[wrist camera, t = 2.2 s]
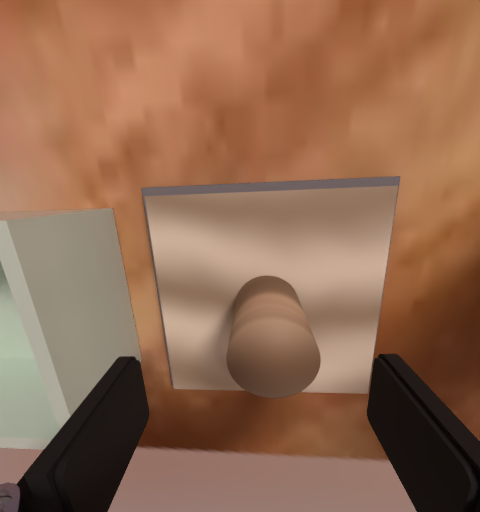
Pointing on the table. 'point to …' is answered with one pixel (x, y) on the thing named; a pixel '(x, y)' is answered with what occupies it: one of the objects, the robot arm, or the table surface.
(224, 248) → the lid
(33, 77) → the table surface
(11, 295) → the mint green storage bin
